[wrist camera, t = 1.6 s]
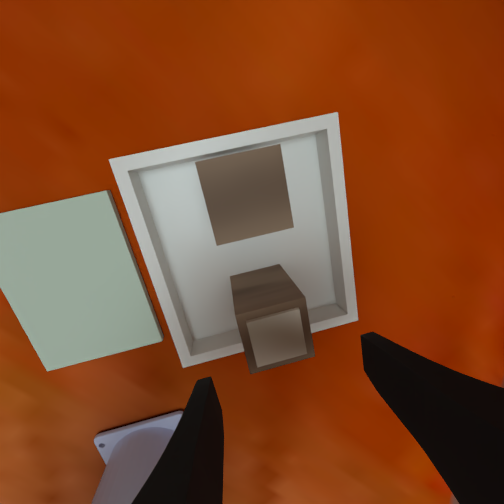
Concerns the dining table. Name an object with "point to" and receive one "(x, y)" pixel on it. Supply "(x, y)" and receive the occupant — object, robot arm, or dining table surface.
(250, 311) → the labelled block
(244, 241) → the parts tray
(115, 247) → the sage mat
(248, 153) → the plain block
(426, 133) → the dining table surface
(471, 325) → the dining table surface
